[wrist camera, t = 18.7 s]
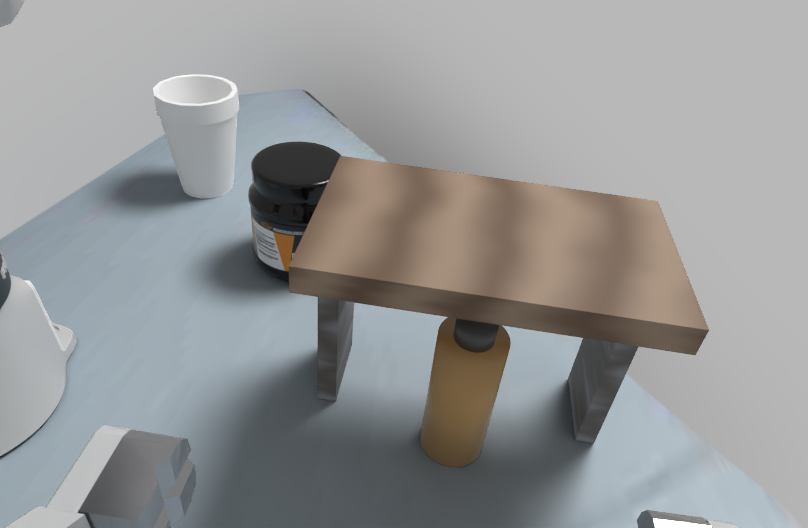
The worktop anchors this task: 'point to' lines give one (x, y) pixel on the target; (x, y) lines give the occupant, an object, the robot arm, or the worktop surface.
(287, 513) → the worktop surface
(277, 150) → the supplement container
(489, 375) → the amber bottle
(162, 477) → the robot arm
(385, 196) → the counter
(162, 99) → the foam cup
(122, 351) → the worktop surface
